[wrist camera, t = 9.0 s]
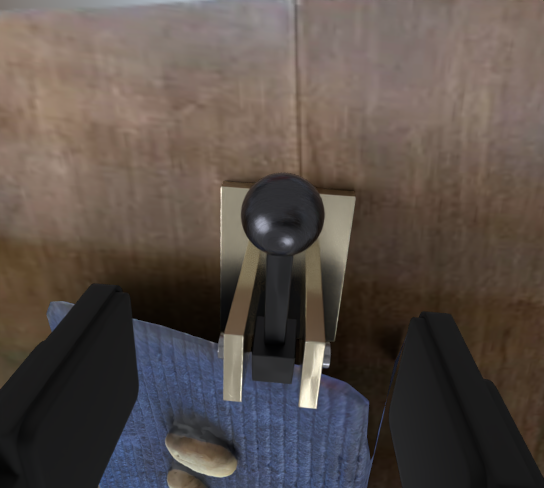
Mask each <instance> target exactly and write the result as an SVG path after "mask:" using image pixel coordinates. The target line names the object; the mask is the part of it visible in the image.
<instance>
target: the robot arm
mask: <svg viewBox="0 0 544 488" xmlns="http://www.w3.org/2000/svg"><path fill="white" fill-rule="evenodd" d="M138 392H139V379H138V369H137V359H136V350H135V340H134V330H133V320H132V310H131V300H130V296H129V294H128V293H123V291H122V288H121V287H120V286H118V285H106V284H92V285H91V286H90V287H89V288H88V289H87V290H86V291H85V293H84V294H83V295H82V296H81V298H80V299H79V300H78V301H77V302H76V304H75V305H74V306H73V307H72V308H71V310H70V311H69V312H68V313H67V314H66V316H65V317H64V318H63V319H62V321H61V322H60V323H59V324H58V325H57V327H56V328H55V329H54V330H53V331H52V333H51V334H50V335H49V336H48V338H47V339H46V340H45V341H42V342H41V343H40V344H39V345H37V346H36V347H35V349H34V350H33V351H32V352H31V353H30V355H29V356H28V357H27V358H26V359H25V361H24V362H23V363H22V364H21V365H20V367H19V368H18V369H17V370H16V371H15V373H14V374H13V375H12V376H11V377H10V379H9V380H8V381H7V382H6V383H5V385H4V386H3V387H2V388H1V389H0V488H97V487H98V485H99V483H100V481H101V478H102V476H103V474H104V472H105V469H106V467H107V465H108V463H109V461H110V458H111V456H112V454H113V452H114V449H115V447H116V445H117V443H118V441H119V438H120V436H121V434H122V432H123V429H124V427H125V425H126V423H127V421H128V418H129V416H130V414H131V412H132V409H133V407H134V405H135V403H136V400H137V397H138ZM389 425H390V430H391V435H392V440H393V445H394V450H395V454H396V459H397V464H398V469H399V474H400V479H401V483H402V488H544V478H543V476H542V474H541V472H540V470H539V468H538V466H537V465H536V463H535V461H534V459H533V457H532V455H531V453H530V451H529V449H528V447H527V445H526V443H525V442H524V440H523V438H522V436H521V434H520V432H519V430H518V428H517V426H516V424H515V422H514V420H513V419H512V417H511V415H510V413H509V411H508V409H507V407H506V405H505V403H504V401H503V399H502V397H501V396H500V394H499V392H498V390H497V388H496V387H495V385H494V384H493V382H491V381H490V380H487V379H483V378H482V376H481V374H480V372H479V370H478V367H477V365H476V363H475V361H474V359H473V357H472V355H471V353H470V351H469V349H468V347H467V345H466V343H465V341H464V339H463V337H462V335H461V333H460V331H459V329H458V327H457V325H456V323H455V321H454V319H453V317H452V316H451V314H447V313H435V312H424V311H423V312H421V314H420V316H419V318H415V317H413V318H412V319H411V320H410V324H409V328H408V332H407V336H406V341H405V345H404V349H403V353H402V358H401V362H400V366H399V370H398V374H397V379H396V383H395V387H394V391H393V396H392V400H391V404H390V409H389Z"/></svg>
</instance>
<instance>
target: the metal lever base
mask: <svg viewBox="0 0 544 488" xmlns="http://www.w3.org/2000/svg"><path fill="white" fill-rule="evenodd" d="M254 184H255V183H242V182H229V181H224V182H223V184H222V186H221V231H220V332H224V333H221V334H220V336H219V341H218V352H217V354H218V358H219V359H223V400H225V401H235V402H241V401H242V396H243V391H244V385H245V379H246V373H247V367H248V361H249V356H250V350H251V344H252V338H253V335H254V332H255V325H256V317H257V316H263V317H265V286H266V253H264V252H262V251H261V250H259V249H258V248H256V247H255V246H254V245H253V244H252V243H251V242H250V240H249V239H248V238H247V236H246V234H245V232H244V230H243V226H242V223H241V207H242V203H243V200H244V198H245V195H246V194H247V192H248V190H249V189H250V188H251V187H252V186H253V185H254ZM316 190H317V191H318V193H319V194H320V196H321V198H322V201H323V205H324V210H325V219H324V225H323V228H322V231H321V233H320V235H319V237H318V238H317V240H316V241H315V242H314V243H313V244H312V245H311V246H310V247H309V248H308V249H307V250H305V251H303V252H301V253H299V254H297V255H294V256H293V267H292V277H291V288H290V298H289V309H288V319H297V332H296V338H297V339H300V342H299V387H298V407H301V408H312V409H316V408H317V404H318V396H319V389H320V382H321V374H322V368H329V366H330V359H331V344H330V342H326V341H331V342H335V337H336V330H337V324H338V317H339V310H340V303H341V297H342V290H343V283H344V276H345V270H346V263H347V256H348V249H349V243H350V236H351V229H352V222H353V216H354V209H355V202H356V195H355V192H354V191H348V190H335V189H321V188H316Z"/></svg>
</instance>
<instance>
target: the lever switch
mask: <svg viewBox="0 0 544 488" xmlns="http://www.w3.org/2000/svg"><path fill="white" fill-rule="evenodd" d="M324 219H325V210H324V205H323V201H322V198H321V196H320V194H319V193H318V191H317V190H316V188H315V187H314V186H313V185H312V184H311V183H310V182H309V181H307V180H306V179H304V178H302V177H300V176H298V175H295V174H291V173H275V174H271V175H268V176H265V177H263V178H262V179H260V180H258V181H257V182H256V183H255V184H254V185H253V186H252V187H251V188H250V189H249V190H248V192H247V194H246V195H245V198H244V200H243V203H242V207H241V223H242V226H243V230H244V232H245V234H246V236H247V238H248V239H249V240H250V242H251V243H252V244H253V245H254V246H255V247H256V248H258V249H259V250H261V251H262V252H264V253H266V286H265V317H263V316H257V317H256V325H255V332H254V340H253V348H252V381H262V382H272V383H283V384H292V378H293V371H294V363H295V350H296V332H297V319H288V309H289V298H290V288H291V277H292V267H293V256H294V255H297V254H299V253H301V252H303V251H305V250H307V249H308V248H309V247H310V246H311V245H312V244H313V243H314V242H315V241H316V240H317V238H318V237H319V235H320V233H321V231H322V228H323V225H324Z"/></svg>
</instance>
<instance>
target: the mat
mask: <svg viewBox="0 0 544 488" xmlns="http://www.w3.org/2000/svg"><path fill="white" fill-rule="evenodd" d="M74 305H75V304H72V303H68V302H64V301H58V302H50V305H49V308H48V311H47V318H48V321H49V324H50V328H51V331H53V330H54V329H55V328H56V327H57V325H58V324H59V323H60V322H61V321H62V319H63V318H64V317H65V316H66V314H67V313H68V312H69V311H70V310H71V308H72V307H73V306H74ZM132 320H133V330H134V340H135V350H136V359H137V369H138V379H139V392H138V397H137V400H136V403H135V405H134V407H133V409H132V412H131V414H130V416H129V418H128V421H127V423H126V425H125V427H124V429H123V432H122V434H121V436H120V438H119V441H118V443H117V445H116V447H115V449H114V452H113V454H112V456H111V458H110V461H109V463H108V465H107V467H106V469H105V472H104V474H103V476H102V478H101V481H100V483H99V488H367V485H368V479H369V475H370V471H371V466H372V462H373V457H374V453H375V449H376V445H377V440H378V436H379V432H380V428H381V423H382V419H383V415H382V419H381V422H380V426H379V430H378V434H377V439H376V444H375V448H374V453H373V457H372V459H371V460H370V453H369V446H368V440H367V425H368V410H369V400H368V399H366V398H365V397H364V396H363V395H361V394H360V393H359V392H358V391H356V390H355V389H354V388H353V387H352V386H350V385H349V384H348V383H346V382H344V381H341V380H338V379H335V378H332V377H329V376H327V375H324V374H321V382H320V389H319V396H318V404H317V408H316V409H312V408H301V407H298V387H299V366H298V365H296V364H294V371H293V378H292V384H283V383H272V382H262V381H252V352H250V356H249V361H248V367H247V373H246V379H245V385H244V391H243V396H242V401H241V402H235V401H225V400H223V359H219V358H218V354H217V352H218V343H214V342H211V341H208V340H205V339H202V338H198V337H195V336H192V335H189V334H186V333H183V332H180V331H177V330H174V329H171V328H168V327H165V326H162V325H157V324H153V323H149V322H145V321H141V320H137V319H132ZM406 336H407V335H406ZM405 339H406V338H405ZM404 342H405V340H404ZM403 345H404V343H403ZM403 345H402V348H403ZM402 348H401V350H402ZM401 350H400V352H399V355H398V357H397V359H396V361H395V363H394V368H393V372H392V377H391V381H390V386H389V390H390V387H391V384H392V381H393V377H394V374H395V371H396V367H397V364H398V361H399V357H400V354H401ZM389 390H388V394H389ZM387 397H388V395H387ZM386 401H387V400H386ZM385 405H386V404H385ZM384 410H385V408H384ZM383 414H384V411H383Z"/></svg>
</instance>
